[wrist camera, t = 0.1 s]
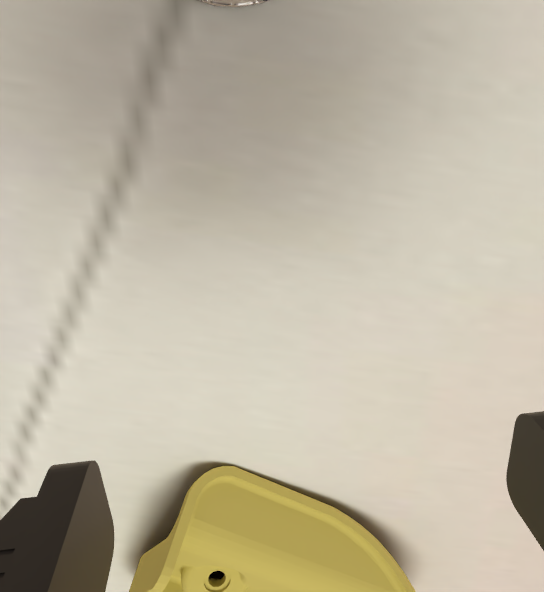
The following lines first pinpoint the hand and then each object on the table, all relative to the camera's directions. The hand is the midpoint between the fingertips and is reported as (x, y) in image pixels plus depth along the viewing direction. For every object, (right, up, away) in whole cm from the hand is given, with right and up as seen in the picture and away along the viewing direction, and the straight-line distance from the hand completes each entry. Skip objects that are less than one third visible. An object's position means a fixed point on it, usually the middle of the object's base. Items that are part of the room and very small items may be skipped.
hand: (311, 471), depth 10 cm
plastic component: (0, -15, +27) cm, 31 cm away
